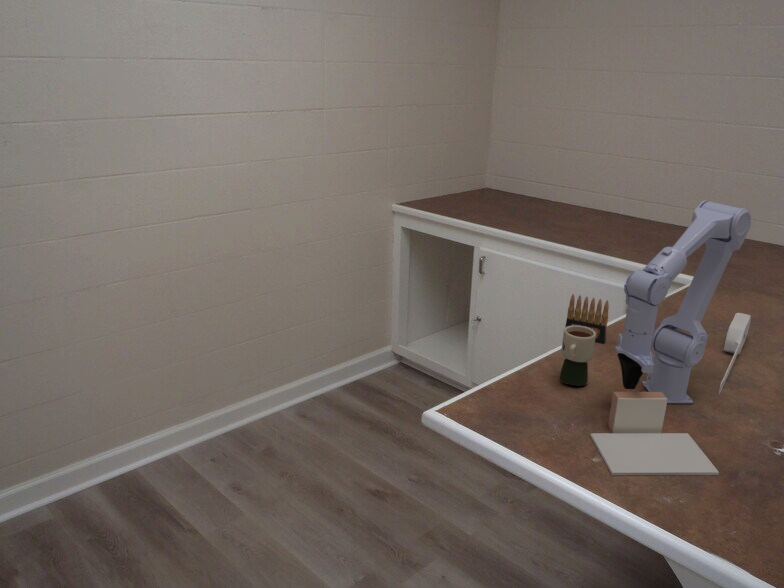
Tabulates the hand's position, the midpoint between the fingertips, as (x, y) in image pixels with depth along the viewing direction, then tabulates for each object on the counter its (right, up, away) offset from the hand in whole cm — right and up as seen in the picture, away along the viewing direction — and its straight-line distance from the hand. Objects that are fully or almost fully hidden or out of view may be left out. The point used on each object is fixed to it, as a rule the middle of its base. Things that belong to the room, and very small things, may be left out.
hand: (628, 387), depth 141 cm
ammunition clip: (+2, +8, +38) cm, 39 cm away
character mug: (-8, -1, +15) cm, 17 cm away
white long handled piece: (+34, +2, +27) cm, 43 cm away
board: (0, -11, -11) cm, 16 cm away
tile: (0, -8, -3) cm, 9 cm away
